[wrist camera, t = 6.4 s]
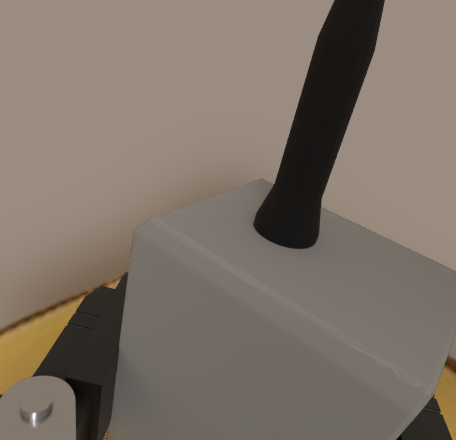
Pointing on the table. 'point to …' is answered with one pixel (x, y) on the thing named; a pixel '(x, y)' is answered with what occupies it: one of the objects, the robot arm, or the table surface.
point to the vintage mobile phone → (283, 295)
